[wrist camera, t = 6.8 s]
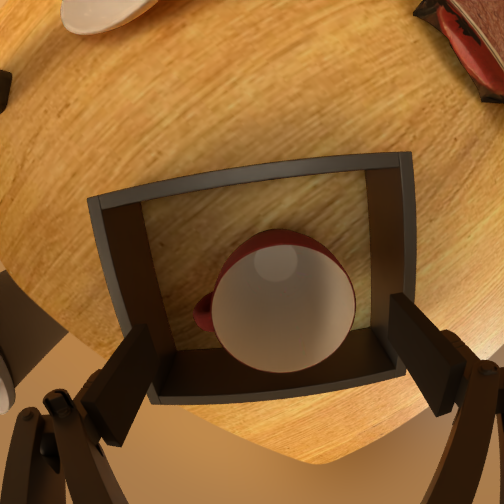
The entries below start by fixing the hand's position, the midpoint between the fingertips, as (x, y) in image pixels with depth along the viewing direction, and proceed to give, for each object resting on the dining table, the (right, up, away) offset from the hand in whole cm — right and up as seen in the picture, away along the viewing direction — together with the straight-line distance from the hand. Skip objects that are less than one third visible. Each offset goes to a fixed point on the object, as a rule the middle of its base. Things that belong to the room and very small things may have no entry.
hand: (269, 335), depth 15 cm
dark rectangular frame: (0, +3, +11) cm, 11 cm away
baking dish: (+23, +27, +4) cm, 35 cm away
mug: (0, +3, +11) cm, 11 cm away
